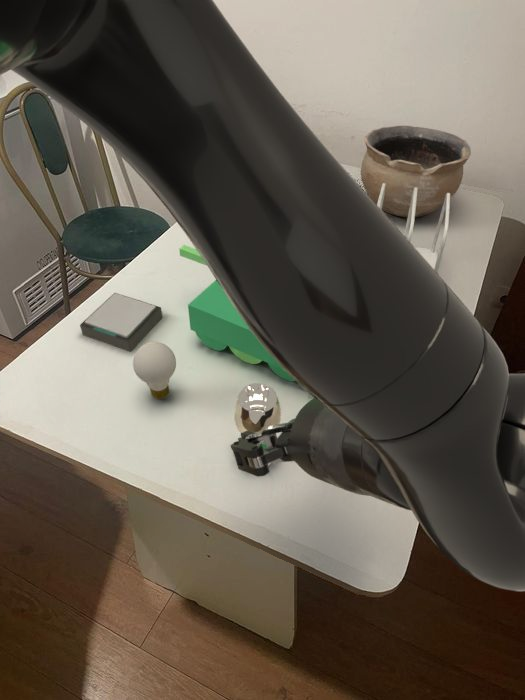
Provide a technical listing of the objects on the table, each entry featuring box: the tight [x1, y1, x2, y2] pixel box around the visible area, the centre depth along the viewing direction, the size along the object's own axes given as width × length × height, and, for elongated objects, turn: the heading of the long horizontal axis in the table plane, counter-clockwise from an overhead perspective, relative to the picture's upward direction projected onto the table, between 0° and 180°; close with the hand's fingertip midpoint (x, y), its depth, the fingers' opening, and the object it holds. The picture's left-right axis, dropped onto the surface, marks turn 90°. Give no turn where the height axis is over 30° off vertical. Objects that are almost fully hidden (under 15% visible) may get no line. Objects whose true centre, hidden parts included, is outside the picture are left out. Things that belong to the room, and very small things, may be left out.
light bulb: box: [132, 341, 177, 400], centre depth 73 cm, size 6×6×10 cm
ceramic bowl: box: [360, 125, 472, 218], centre depth 113 cm, size 22×22×15 cm
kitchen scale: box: [79, 292, 163, 352], centre depth 87 cm, size 10×10×3 cm
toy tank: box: [178, 244, 296, 382], centre depth 82 cm, size 18×12×35 cm
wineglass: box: [233, 382, 282, 466], centre depth 65 cm, size 6×6×12 cm
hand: (280, 426), depth 57 cm, fingers open, 8 cm apart
